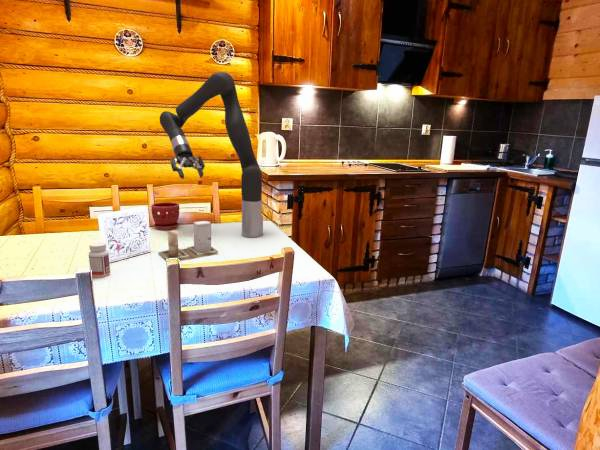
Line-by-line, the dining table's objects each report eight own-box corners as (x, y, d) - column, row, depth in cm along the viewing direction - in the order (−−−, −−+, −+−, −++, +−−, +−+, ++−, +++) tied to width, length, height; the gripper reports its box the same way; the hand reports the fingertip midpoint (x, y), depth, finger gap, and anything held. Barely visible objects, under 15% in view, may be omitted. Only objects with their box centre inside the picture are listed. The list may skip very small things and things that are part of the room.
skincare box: (197, 253, 164) (196, 224, 161) (193, 250, 167) (192, 221, 164) (212, 251, 167) (211, 222, 164) (207, 248, 171) (207, 220, 168)
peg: (176, 254, 162) (175, 229, 160) (179, 256, 160) (179, 232, 157) (167, 255, 160) (166, 231, 158) (170, 258, 157) (169, 233, 155)
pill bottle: (106, 270, 147) (103, 240, 144) (113, 275, 143) (110, 244, 140) (87, 274, 142) (84, 243, 139) (95, 279, 138) (91, 247, 135)
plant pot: (185, 227, 205) (184, 203, 202) (164, 232, 194) (163, 208, 191) (168, 222, 211) (166, 200, 208) (146, 228, 201) (145, 204, 198)
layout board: (205, 247, 175) (205, 243, 174) (219, 256, 165) (219, 251, 164) (157, 256, 163) (157, 250, 162) (168, 266, 153) (168, 260, 152)
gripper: (167, 143, 177) (178, 172, 171) (198, 142, 185) (210, 171, 180) (164, 154, 183) (174, 183, 177) (194, 153, 191) (205, 181, 185)
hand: (192, 177), depth 178 cm, fingers open, 8 cm apart
